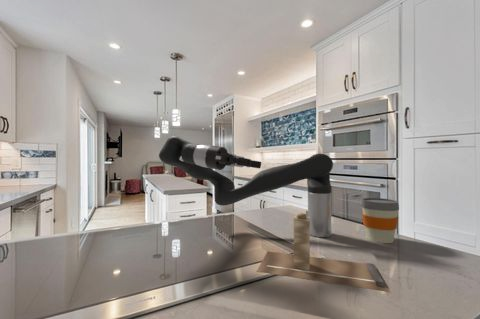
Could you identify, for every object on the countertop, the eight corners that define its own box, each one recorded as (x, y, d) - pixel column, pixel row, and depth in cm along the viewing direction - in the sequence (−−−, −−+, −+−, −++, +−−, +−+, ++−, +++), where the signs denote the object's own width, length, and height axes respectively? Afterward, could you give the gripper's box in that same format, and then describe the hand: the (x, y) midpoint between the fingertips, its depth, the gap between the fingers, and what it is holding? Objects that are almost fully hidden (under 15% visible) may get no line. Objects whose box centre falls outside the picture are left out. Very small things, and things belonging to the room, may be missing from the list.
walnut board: (256, 277, 60) (256, 267, 60) (267, 256, 73) (267, 248, 73) (390, 298, 50) (389, 287, 50) (374, 270, 63) (374, 261, 63)
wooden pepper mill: (293, 267, 62) (293, 215, 62) (295, 261, 65) (294, 212, 65) (309, 270, 60) (309, 216, 60) (309, 263, 64) (309, 213, 64)
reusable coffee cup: (356, 239, 89) (356, 200, 89) (366, 232, 98) (366, 196, 98) (395, 247, 80) (395, 204, 80) (402, 239, 89) (402, 200, 89)
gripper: (219, 169, 82) (261, 177, 75) (195, 166, 70) (244, 175, 63) (223, 148, 83) (265, 154, 76) (200, 142, 70) (248, 148, 63)
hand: (255, 164), depth 69 cm, fingers open, 8 cm apart
